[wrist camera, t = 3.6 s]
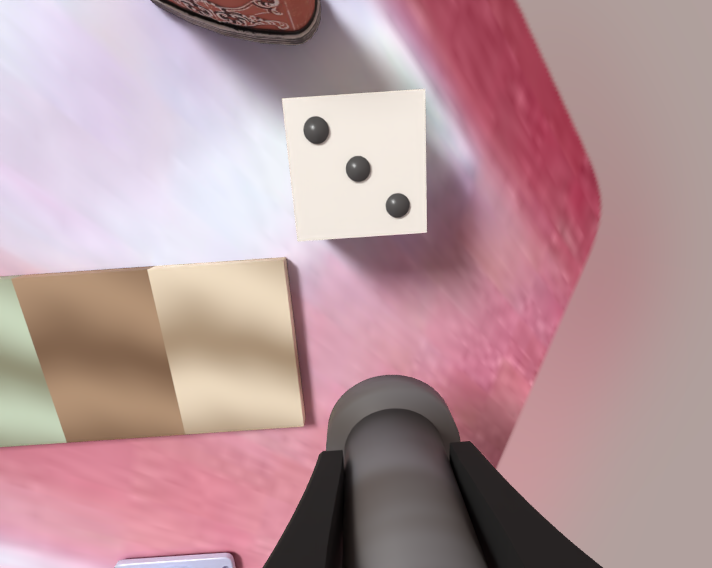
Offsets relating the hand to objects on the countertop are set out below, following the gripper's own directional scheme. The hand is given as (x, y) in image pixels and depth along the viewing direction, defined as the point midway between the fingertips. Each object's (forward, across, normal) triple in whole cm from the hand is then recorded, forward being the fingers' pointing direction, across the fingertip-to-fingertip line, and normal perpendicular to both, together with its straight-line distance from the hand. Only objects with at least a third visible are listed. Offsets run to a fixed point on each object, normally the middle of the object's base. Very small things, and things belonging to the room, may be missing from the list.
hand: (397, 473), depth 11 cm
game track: (+10, +15, 0) cm, 18 cm away
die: (+10, 0, -9) cm, 13 cm away
